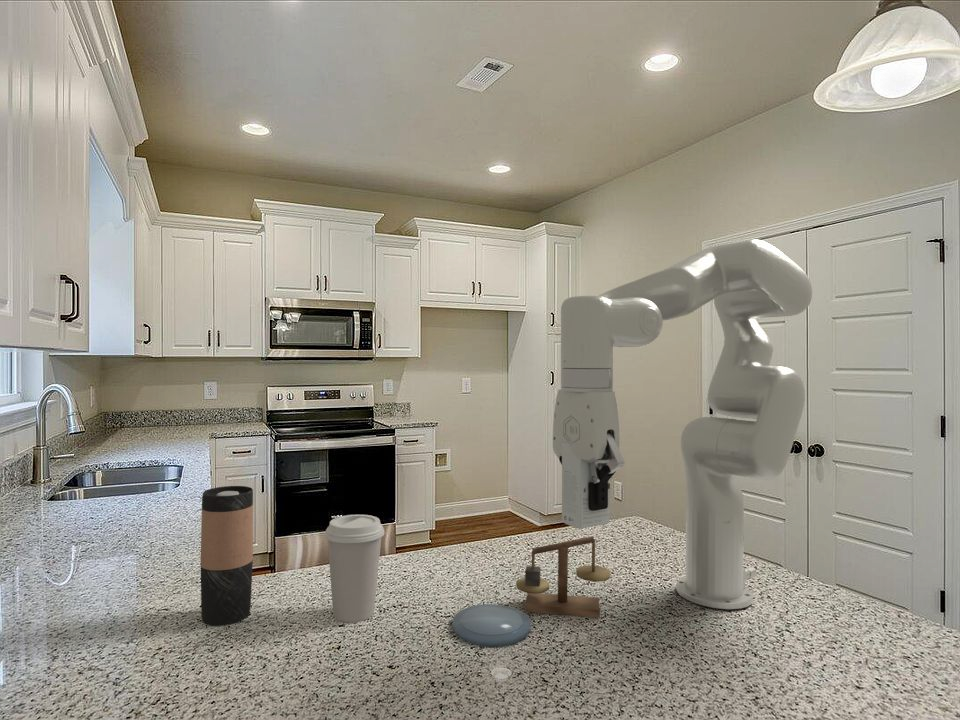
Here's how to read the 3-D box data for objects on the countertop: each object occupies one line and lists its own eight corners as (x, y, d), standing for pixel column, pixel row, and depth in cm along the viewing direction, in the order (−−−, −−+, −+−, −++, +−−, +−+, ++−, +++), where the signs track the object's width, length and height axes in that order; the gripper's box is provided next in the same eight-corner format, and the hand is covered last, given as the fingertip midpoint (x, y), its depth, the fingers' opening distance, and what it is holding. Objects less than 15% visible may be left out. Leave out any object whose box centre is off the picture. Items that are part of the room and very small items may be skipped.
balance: (609, 604, 97) (609, 532, 97) (611, 619, 91) (612, 542, 91) (517, 597, 99) (518, 527, 99) (514, 611, 94) (515, 536, 94)
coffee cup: (362, 596, 99) (363, 510, 99) (395, 614, 92) (396, 521, 92) (312, 612, 92) (313, 520, 93) (343, 633, 86) (344, 533, 86)
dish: (502, 604, 96) (502, 597, 96) (546, 634, 86) (546, 626, 86) (439, 620, 90) (439, 613, 90) (477, 654, 80) (477, 646, 80)
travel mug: (262, 609, 93) (264, 487, 93) (227, 630, 86) (229, 498, 86) (225, 602, 96) (226, 484, 96) (188, 622, 89) (190, 493, 89)
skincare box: (580, 530, 80) (581, 444, 80) (559, 522, 84) (559, 440, 84) (612, 523, 83) (612, 440, 83) (590, 516, 87) (590, 437, 87)
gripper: (531, 379, 89) (531, 496, 89) (607, 383, 74) (607, 523, 74) (569, 378, 93) (569, 490, 93) (648, 382, 78) (648, 515, 78)
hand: (586, 504), depth 84 cm, fingers closed on skincare box, 4 cm apart
